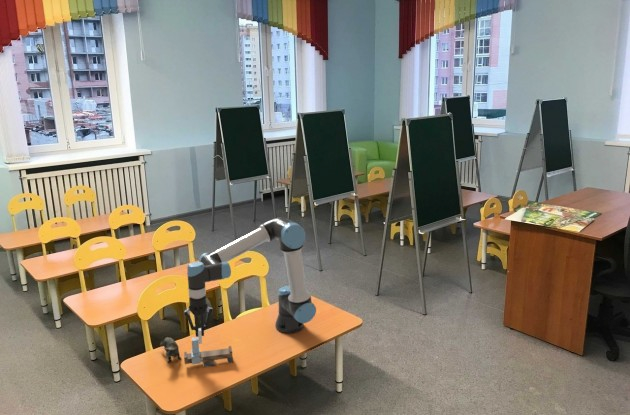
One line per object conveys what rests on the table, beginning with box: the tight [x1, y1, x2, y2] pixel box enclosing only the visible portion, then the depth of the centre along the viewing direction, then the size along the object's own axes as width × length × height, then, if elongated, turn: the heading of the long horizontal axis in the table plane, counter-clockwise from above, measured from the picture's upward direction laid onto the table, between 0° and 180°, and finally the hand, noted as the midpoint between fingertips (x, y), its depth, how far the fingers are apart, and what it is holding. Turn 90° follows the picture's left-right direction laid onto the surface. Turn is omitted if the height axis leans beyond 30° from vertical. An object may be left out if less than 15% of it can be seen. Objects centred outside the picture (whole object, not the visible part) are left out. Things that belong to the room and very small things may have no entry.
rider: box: [190, 336, 202, 365], centre depth 234 cm, size 4×8×11 cm, turn 15°
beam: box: [183, 345, 234, 368], centre depth 237 cm, size 22×5×6 cm, turn 105°
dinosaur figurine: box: [159, 336, 182, 364], centre depth 241 cm, size 22×8×11 cm, turn 23°
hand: (200, 342), depth 234 cm, fingers closed
